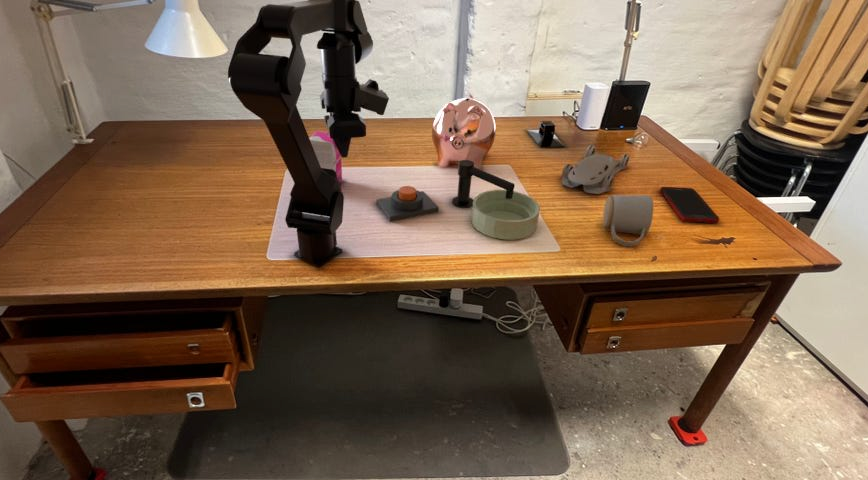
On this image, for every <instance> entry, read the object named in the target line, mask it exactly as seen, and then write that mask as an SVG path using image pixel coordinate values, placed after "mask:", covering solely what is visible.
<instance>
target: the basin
mask: <svg viewBox="0 0 868 480" xmlns="http://www.w3.org/2000/svg"><path fill="white" fill-rule="evenodd" d="M505 196H506V190H505V189H493V190H492V189H491V190H486V191H483V192H480V193H479V194H478V195H475V197H474V198H473V200H474V201H473V206H472V207H471V216H470V220H471V225H472V226H473V227H474V229H476V230H477V231H478V232H480V233H481V234H483V235H485V236H488V237H491V238H494V239H500V240H510V241H511V240H515V241H516V240H519V239H524V238H527V237H529V236H531V235H533V234H534V232H536V230H537V226H538V221H539V216H540V211H541V207H540V205H539V202H537V201H536V200H535V199H534V197H532V196H529V195H527V194H525V193H522V192H519V191H515V190H514V191H513V198H512V199H507V198H506V197H505Z"/></svg>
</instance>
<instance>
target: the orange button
mask: <svg viewBox="0 0 868 480" xmlns="http://www.w3.org/2000/svg"><path fill="white" fill-rule="evenodd" d="M398 190H399V199H401V200H406V201H409V200H414V199H415V198H416V190H417V189H416V187H414V186H411V185H404V186H401V187H399V188H398Z"/></svg>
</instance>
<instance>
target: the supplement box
mask: <svg viewBox="0 0 868 480" xmlns="http://www.w3.org/2000/svg"><path fill="white" fill-rule="evenodd" d="M309 139H310V141H311V144H312V146H313V149H314V151H315V154H316V156H317V159H318V161H319V164H320V166H321V168H326V169H333V170H334V171H335V172H336V173H337V178H338V180H339V182H340V183H342V181H343V169H342V167H343V166H342V157H341V155H340V153H339V151H338V149H337V147H336V145H335V143H334V141H333V139H332V138H330V136H329V132H326V131H318V130H316V131H315V132H314V133H313V134H312V135H311V136H310V137H309Z"/></svg>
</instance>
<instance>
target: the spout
mask: <svg viewBox="0 0 868 480" xmlns="http://www.w3.org/2000/svg"><path fill="white" fill-rule="evenodd" d="M457 168H458V169H457V175H458V177H459V176H460V177H464V178H469V177H471V178H472V177H475V178H478V179H480V180H483V181H485V182H486V183H489V184H492V185H494V186H496V187H499V188H501V189H502V190H506V196H505V197H506V198H507V199H512V198H513V191H515V190H514V189H515V187H516V184H515V183H513V182H511V181H509V180H506V179H505V178H502V177H499V176H497V175H495V174H492V173H490V172H487V171H485V170H483V169H482V168H481V169H478V168H476V167H474V162H472V161H470V160H461V161H459V163H458V167H457Z"/></svg>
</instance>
